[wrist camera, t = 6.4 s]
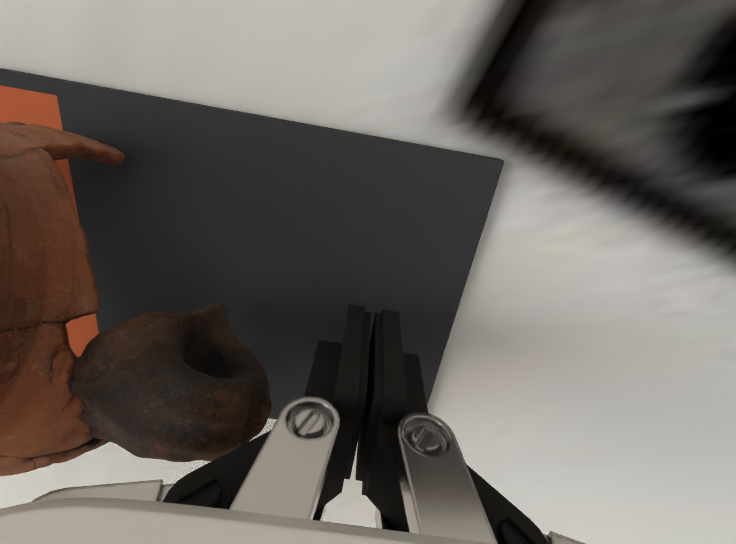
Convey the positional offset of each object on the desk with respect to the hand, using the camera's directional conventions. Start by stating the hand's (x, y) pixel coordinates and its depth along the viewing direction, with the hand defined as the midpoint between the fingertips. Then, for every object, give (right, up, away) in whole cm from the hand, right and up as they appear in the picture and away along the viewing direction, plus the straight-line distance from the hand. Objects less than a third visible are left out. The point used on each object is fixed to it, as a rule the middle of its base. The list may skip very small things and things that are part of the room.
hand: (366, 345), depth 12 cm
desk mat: (-10, +3, +1) cm, 10 cm away
